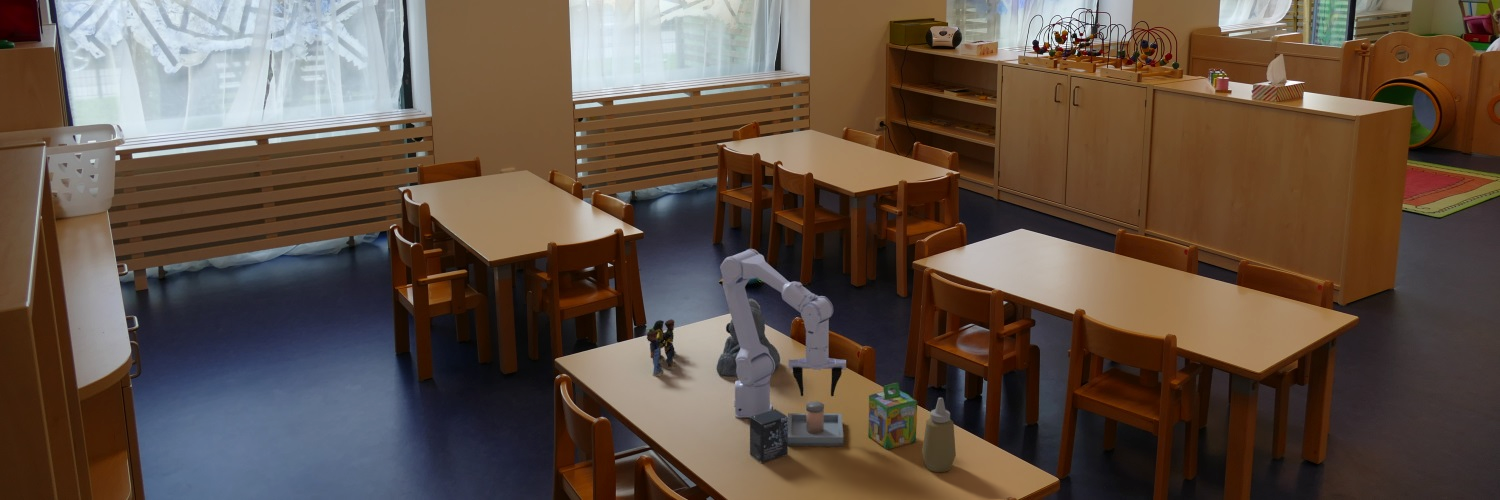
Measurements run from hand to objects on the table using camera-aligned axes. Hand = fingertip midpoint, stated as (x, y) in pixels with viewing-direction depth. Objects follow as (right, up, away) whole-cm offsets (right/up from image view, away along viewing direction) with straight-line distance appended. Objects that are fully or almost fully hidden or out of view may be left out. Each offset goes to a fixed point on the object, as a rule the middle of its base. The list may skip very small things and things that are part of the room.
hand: (817, 394), depth 299 cm
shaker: (0, -9, +2) cm, 10 cm away
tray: (0, -10, +2) cm, 10 cm away
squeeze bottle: (+28, -16, -16) cm, 36 cm away
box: (-12, -14, -9) cm, 21 cm away
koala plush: (-17, +2, +45) cm, 48 cm away
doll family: (-43, +3, +48) cm, 64 cm away
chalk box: (+19, -11, -2) cm, 22 cm away
